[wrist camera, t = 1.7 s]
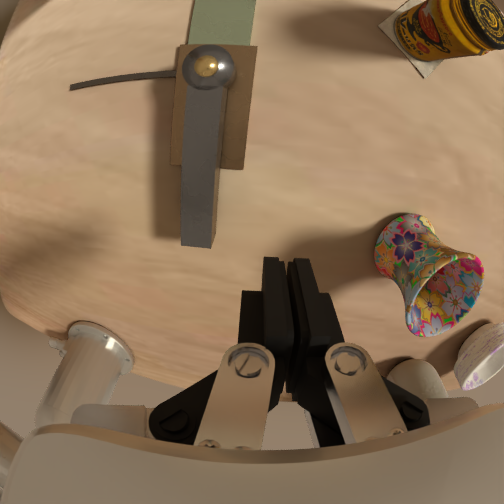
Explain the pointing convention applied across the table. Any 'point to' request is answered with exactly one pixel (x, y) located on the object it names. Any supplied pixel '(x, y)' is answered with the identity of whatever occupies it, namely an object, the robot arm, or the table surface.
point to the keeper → (222, 22)
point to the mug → (428, 274)
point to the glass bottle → (418, 379)
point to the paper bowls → (480, 356)
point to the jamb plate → (235, 103)
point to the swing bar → (203, 141)
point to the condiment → (444, 30)
